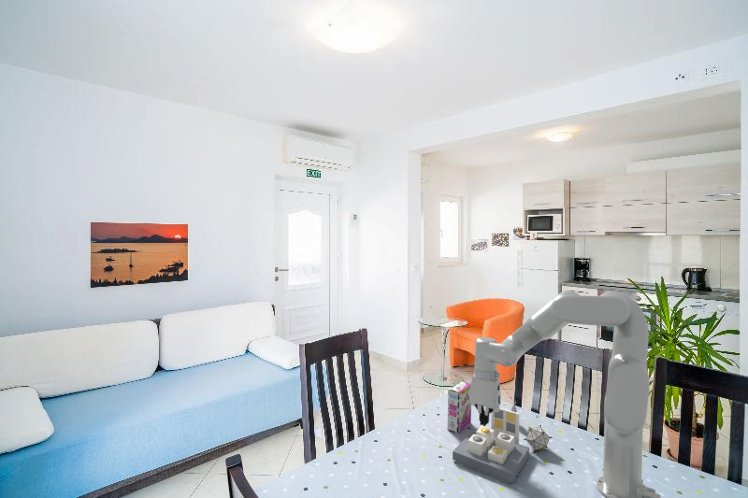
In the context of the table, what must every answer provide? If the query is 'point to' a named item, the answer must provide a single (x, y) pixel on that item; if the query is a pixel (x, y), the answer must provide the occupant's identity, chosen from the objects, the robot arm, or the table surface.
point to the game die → (537, 438)
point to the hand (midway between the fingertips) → (484, 423)
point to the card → (506, 423)
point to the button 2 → (477, 445)
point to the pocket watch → (514, 407)
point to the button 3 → (505, 442)
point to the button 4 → (498, 455)
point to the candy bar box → (459, 407)
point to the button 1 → (486, 435)
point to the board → (491, 467)
